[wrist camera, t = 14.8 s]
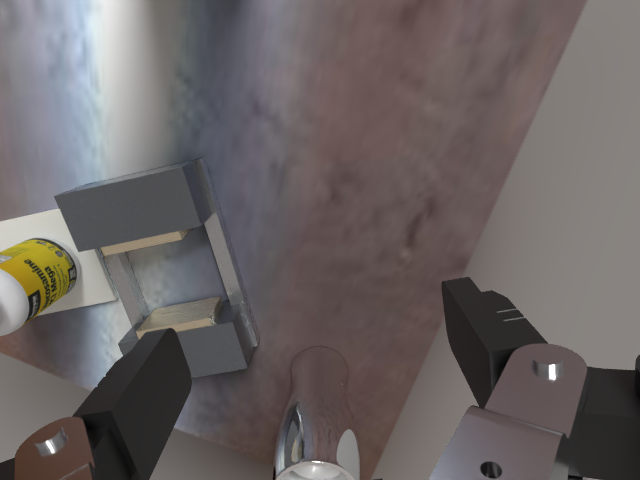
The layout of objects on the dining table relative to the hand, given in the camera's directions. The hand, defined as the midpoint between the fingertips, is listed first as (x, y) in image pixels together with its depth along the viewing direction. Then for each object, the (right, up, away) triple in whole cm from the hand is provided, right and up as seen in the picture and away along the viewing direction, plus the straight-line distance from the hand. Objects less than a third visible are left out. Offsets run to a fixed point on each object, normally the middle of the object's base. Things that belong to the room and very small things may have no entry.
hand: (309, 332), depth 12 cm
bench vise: (-14, 0, +29) cm, 32 cm away
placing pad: (-26, 0, +29) cm, 39 cm away
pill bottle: (-26, 0, +29) cm, 39 cm away
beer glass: (0, -11, +33) cm, 35 cm away
